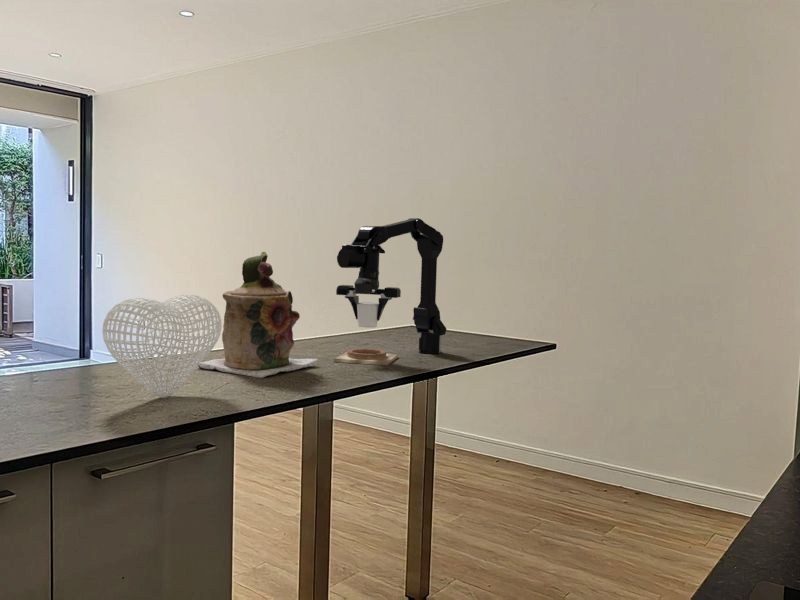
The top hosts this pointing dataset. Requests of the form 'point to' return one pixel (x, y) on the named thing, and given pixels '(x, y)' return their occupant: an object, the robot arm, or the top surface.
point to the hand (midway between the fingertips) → (367, 319)
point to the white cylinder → (367, 314)
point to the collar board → (366, 357)
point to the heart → (162, 339)
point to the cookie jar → (258, 325)
